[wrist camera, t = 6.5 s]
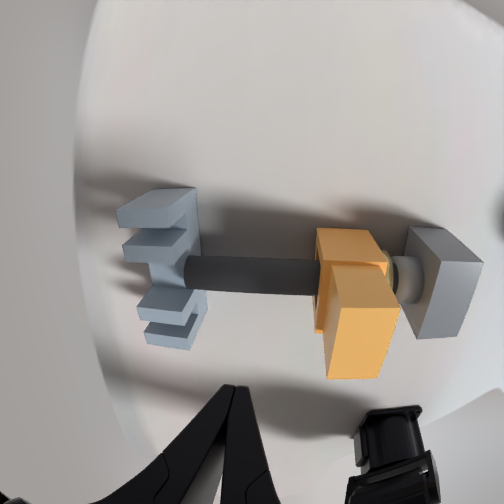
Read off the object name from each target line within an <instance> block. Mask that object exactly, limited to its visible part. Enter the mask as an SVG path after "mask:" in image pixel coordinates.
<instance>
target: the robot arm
mask: <svg viewBox="0 0 504 504" xmlns="http://www.w3.org/2000/svg"><path fill="white" fill-rule="evenodd" d="M421 412H422V408H421V407H413V408H405V409H396V410H386V411H374V412H369V413H367V414H366V416H365V418H364V420H363V422H362V424H361V426H360V427H359V428H358V430H357V432H356V434H355V436H354V448H355V460H356V466H357V467H361V475H359V476H352V477H349V481H348V484H347V491H346V498H345V504H439V503H441V496H440V486H439V477H438V472H437V468H436V464H435V460H434V458H433V455H432V453H431V450H428V451H425V450H424V445H423V441H422V437H421V433H420V429H419V425H418V421H417V418H418V417H419V415H420V414H421ZM427 469H428V471H427V472H425V473H423V471H425V470H427ZM222 473H223V475H222ZM221 476H222V487H221V500H220V504H281V503H280V500H279V498H278V496H277V493H276V490H275V487H274V484H273V481H272V477H271V474H270V471H269V467H268V463H267V459H266V455H265V451H264V447H263V443H262V439H261V436H260V432H259V427H258V423H257V419H256V415H255V411H254V407H253V403H252V399H251V394H250V390H249V387H248V386H235V385H229V384H224V385H223V386H222V387H221V388H220V389H219V390H218V391H217V392H216V394H215V395H214V396H213V397H212V398H211V399H210V400H209V402H208V403H207V404H206V405H205V406H204V407H203V408H202V409H201V411H200V412H199V413H198V414H197V415H196V416H195V417H194V418H193V419H192V420H191V422H190V423H189V424H188V425H187V426H186V427H185V428H184V429H183V430H182V431H181V432H180V434H179V435H178V436H177V437H176V438H175V439H174V440H173V441H172V442H171V443H170V444H169V445H168V446H167V447H166V448H165V449H164V450H163V453H160V454H159V455H158V456H157V457H156V459H155V460H153V461H152V462H151V463H150V464H149V465H148V466H147V467H146V468H145V469H144V470H143V471H141V472H140V473H139V474H138V475H137V476H135V477H134V478H133V479H131V480H130V481H128V482H127V483H126V484H124V485H123V486H121V487H120V488H119V489H117V490H116V491H115V492H113V493H112V494H110V495H109V496H107V497H105V498H103V499H102V500H99V501H97V502H94V503H90V504H213V501H214V498H215V495H216V492H217V488H218V485H219V482H220V479H221ZM0 504H31V503H29V502H27V501H26V500H24V499H22V498H20V497H19V498H15V499H10V498H9V497H7V496H6V495H5V494H3V493H2V492H1V491H0Z"/></svg>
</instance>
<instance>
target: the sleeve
mask: <svg viewBox="0 0 504 504" xmlns="http://www.w3.org/2000/svg"><path fill="white" fill-rule="evenodd" d="M315 260H320V266H321V270H320V280H319V289H318V296H312V298H313V311H314V326H315V333H323V340H324V351H325V364H326V378H327V379H370V378H377V377H378V374H379V372H380V369H381V367H382V364H383V361H384V359H385V356H386V353H387V350H388V347H389V344H390V341H391V338H392V335H393V332H394V329H395V326H396V323H397V320H398V316H399V313H400V309H401V307H400V305H399V303H398V301H397V299H396V297H395V295H394V293H393V291H392V289H391V287H390V285H389V283H388V281H387V279H386V277H385V275H386V270H387V264H388V262H387V260H386V258H385V257H384V255H383V253H382V252H381V250H380V248H379V247H378V245H377V244H376V242H375V240H374V239H373V237H372V236H371V234H370V233H369V231H368V230H359V229H337V228H317V233H316V248H315Z"/></svg>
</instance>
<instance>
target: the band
mask: <svg viewBox="0 0 504 504" xmlns="http://www.w3.org/2000/svg"><path fill="white" fill-rule="evenodd" d="M381 252H382V253H383V255H384V257H385V258H386V260H387V262H388V264H387V270H386V275H385V277H386V279H387V281H388V283H389V285H390V287H391V289H393V265H392V260H391V257H390V255H389V253H388V252H387V251H386V250H381Z"/></svg>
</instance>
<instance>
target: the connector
mask: <svg viewBox="0 0 504 504" xmlns="http://www.w3.org/2000/svg"><path fill="white" fill-rule="evenodd" d="M391 260H392V263H395V264H396V266H397V268H398V274H399V283H398V289H397V292H396V294H395V297H396V299H397V301H398V303H399V304H400V305H401V307H402V309H403V311H404V313H405V315H406V317H407V319H408V321H409V324H410V326H411V328H412V330H413V332H414V335H415V337H416V339H431V338H444V337H455V336H457V335H458V332H459V330H460V328H461V325H462V323H463V320H464V318H465V315H466V313H467V310H468V308H469V305H470V302H471V300H472V297H473V294H474V291H475V288H476V286H477V283H478V279H479V276H480V273H481V270H482V267H483V263H484V262H483V261H482V260H481V259H480V258H478V257H477V256H476V255H475V254H474V253H473V252H472V251H471V250H470V249H469V248H468V247H466V246H465V245H464V244H463V243H462V242H461V241H460V240H458V239H457V238H456V237H455V236H454V235H453V234H451V233H450V232H449V231H448V230H447V229H438V228H426V227H412V226H409V228H408V234H407V240H406V245H405V251H404V256H392V257H391Z"/></svg>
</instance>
